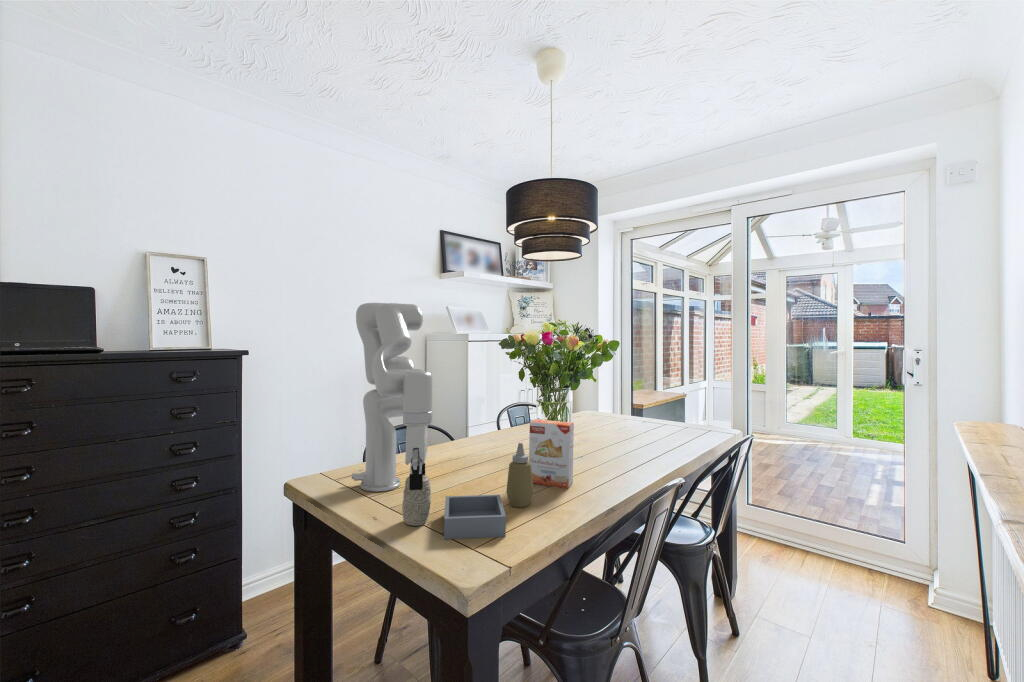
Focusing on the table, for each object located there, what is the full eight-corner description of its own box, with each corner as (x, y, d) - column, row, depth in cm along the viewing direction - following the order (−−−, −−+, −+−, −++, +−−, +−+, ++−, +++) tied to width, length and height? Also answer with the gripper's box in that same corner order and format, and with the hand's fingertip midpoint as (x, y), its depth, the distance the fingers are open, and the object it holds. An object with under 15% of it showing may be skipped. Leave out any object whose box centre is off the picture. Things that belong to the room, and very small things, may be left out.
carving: (425, 529, 113) (425, 482, 113) (397, 526, 114) (398, 479, 114) (434, 519, 119) (434, 474, 119) (408, 516, 120) (408, 472, 120)
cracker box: (528, 483, 149) (528, 421, 148) (533, 478, 154) (534, 418, 154) (568, 489, 143) (569, 425, 143) (573, 483, 149) (574, 421, 149)
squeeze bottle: (524, 511, 125) (525, 448, 124) (500, 505, 129) (501, 444, 129) (538, 502, 131) (539, 442, 131) (515, 497, 136) (516, 438, 136)
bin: (444, 539, 107) (444, 518, 107) (445, 514, 122) (445, 496, 122) (505, 536, 109) (505, 516, 109) (499, 512, 124) (499, 494, 124)
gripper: (406, 413, 124) (406, 474, 124) (398, 424, 107) (398, 495, 107) (433, 413, 125) (433, 473, 125) (430, 423, 108) (430, 493, 108)
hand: (417, 483), depth 116 cm, fingers open, 9 cm apart
